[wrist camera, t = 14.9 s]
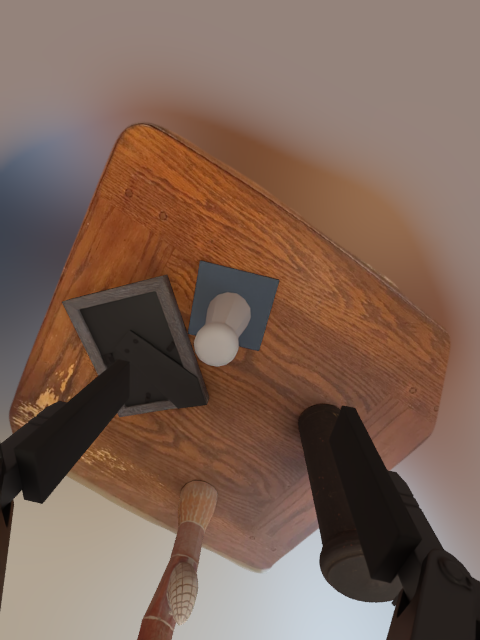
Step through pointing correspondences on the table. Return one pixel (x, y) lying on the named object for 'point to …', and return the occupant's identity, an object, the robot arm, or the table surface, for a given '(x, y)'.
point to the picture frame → (141, 343)
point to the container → (337, 514)
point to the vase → (181, 564)
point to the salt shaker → (222, 329)
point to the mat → (243, 283)
